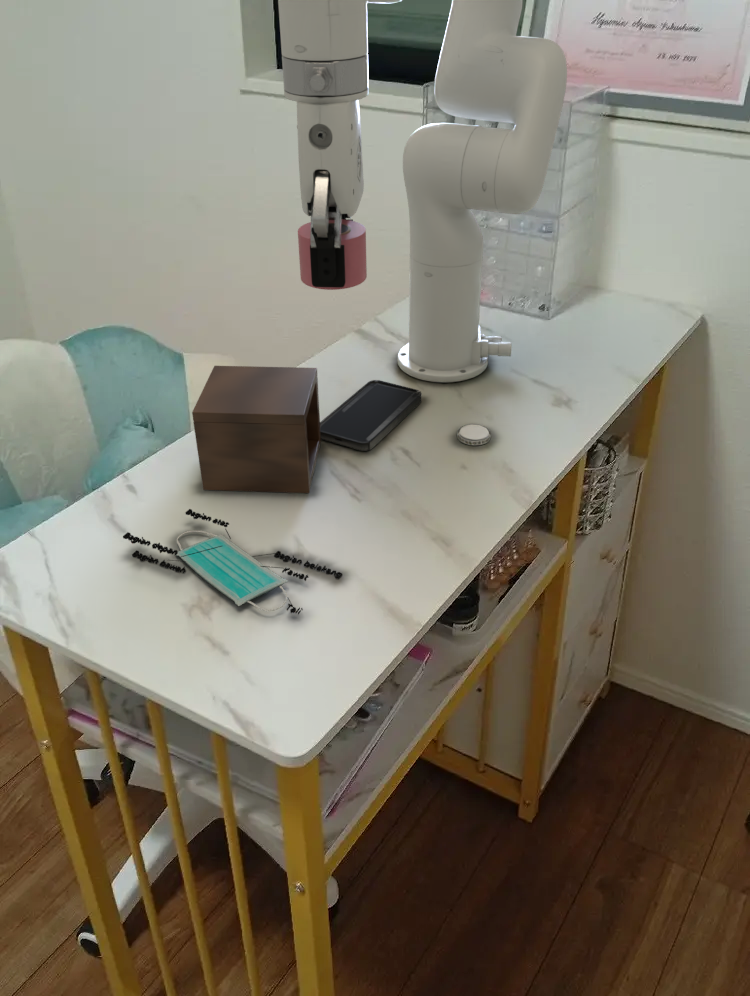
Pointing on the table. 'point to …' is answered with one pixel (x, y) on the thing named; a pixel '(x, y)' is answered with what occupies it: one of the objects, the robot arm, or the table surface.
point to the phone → (369, 415)
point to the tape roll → (353, 247)
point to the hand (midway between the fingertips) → (333, 270)
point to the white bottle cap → (474, 434)
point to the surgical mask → (228, 566)
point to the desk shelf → (258, 429)
